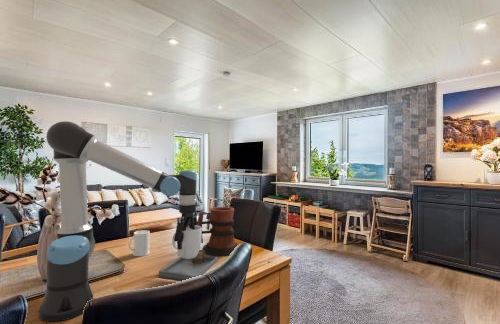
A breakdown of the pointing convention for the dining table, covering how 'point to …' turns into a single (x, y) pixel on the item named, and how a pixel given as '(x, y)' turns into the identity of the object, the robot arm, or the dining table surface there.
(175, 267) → the tray
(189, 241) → the mug
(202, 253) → the walnut block
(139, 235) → the mug
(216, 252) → the tankard
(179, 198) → the robot arm
